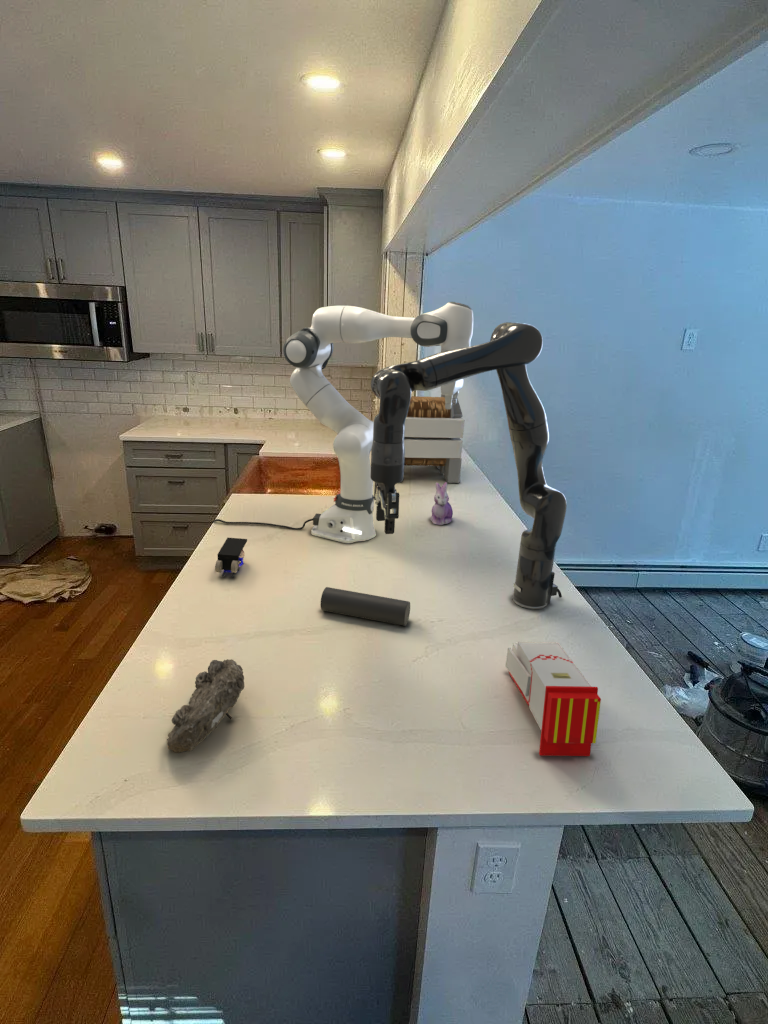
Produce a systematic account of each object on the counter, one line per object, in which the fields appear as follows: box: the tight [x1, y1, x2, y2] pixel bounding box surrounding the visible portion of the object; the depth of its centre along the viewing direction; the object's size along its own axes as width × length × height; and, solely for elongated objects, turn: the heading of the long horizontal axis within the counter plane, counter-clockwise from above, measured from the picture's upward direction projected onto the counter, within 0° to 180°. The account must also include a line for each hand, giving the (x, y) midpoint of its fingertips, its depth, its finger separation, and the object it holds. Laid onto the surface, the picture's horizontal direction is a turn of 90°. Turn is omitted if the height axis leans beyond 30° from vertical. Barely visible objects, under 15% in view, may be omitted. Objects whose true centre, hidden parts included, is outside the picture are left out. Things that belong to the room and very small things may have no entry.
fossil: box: [166, 658, 245, 754], centre depth 106 cm, size 22×10×15 cm
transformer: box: [400, 393, 465, 484], centre depth 268 cm, size 34×33×41 cm
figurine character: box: [214, 537, 248, 578], centre depth 166 cm, size 7×8×15 cm
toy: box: [505, 641, 602, 757], centre depth 113 cm, size 12×13×30 cm
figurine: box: [430, 481, 454, 526], centre depth 211 cm, size 9×10×15 cm
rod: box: [319, 586, 411, 627], centre depth 145 cm, size 22×6×6 cm, turn 74°
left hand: (450, 406), depth 174 cm, fingers open, 8 cm apart
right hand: (384, 526), depth 133 cm, fingers open, 8 cm apart
